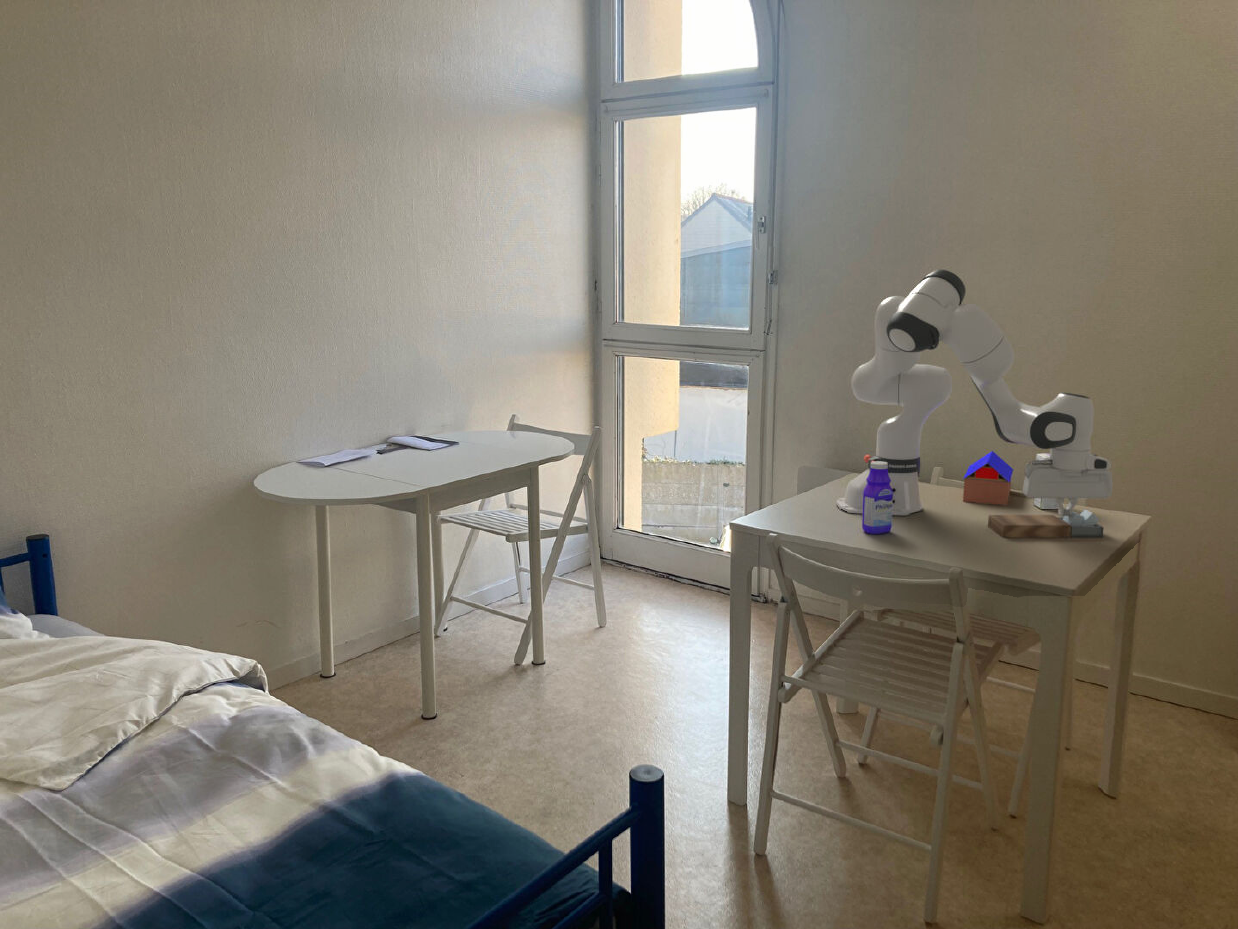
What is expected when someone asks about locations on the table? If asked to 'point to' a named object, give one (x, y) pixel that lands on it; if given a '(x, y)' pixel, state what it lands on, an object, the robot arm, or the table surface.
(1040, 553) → the table surface
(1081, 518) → the tile
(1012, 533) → the board
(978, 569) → the table surface
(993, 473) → the house
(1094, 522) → the tile
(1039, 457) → the syrup box
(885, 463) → the bottle
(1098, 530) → the tray
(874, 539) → the table surface
